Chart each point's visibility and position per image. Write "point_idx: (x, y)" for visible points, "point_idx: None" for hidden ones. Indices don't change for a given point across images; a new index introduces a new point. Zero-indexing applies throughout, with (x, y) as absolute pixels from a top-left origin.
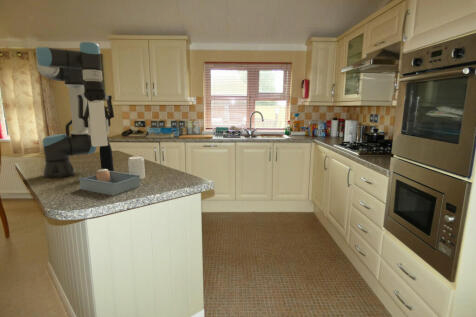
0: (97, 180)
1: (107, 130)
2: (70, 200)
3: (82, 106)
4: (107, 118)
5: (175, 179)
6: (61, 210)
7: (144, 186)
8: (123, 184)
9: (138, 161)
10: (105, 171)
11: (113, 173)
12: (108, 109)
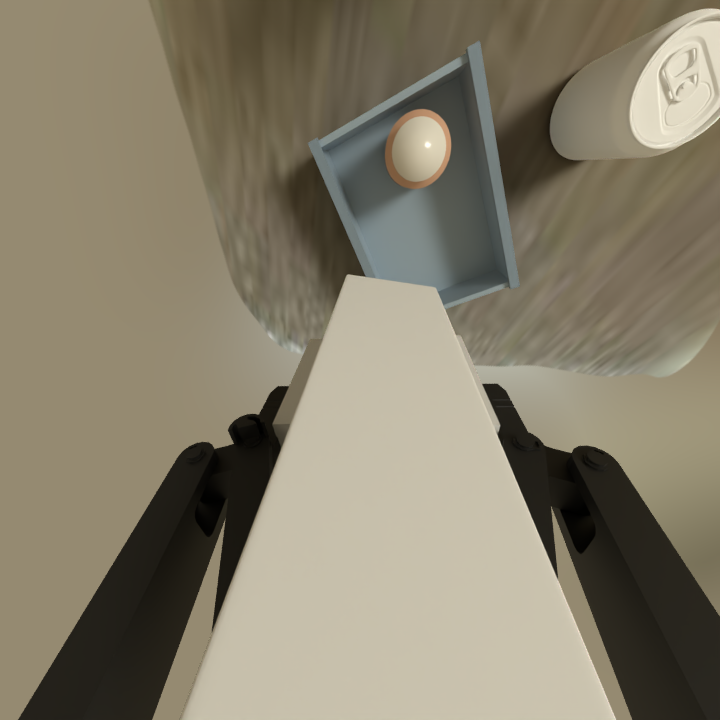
0: (365, 255)
1: None
2: (284, 261)
3: (164, 657)
4: None
5: (664, 261)
6: (265, 328)
7: None
8: None
9: (639, 157)
10: (423, 179)
11: (479, 117)
12: (628, 586)
